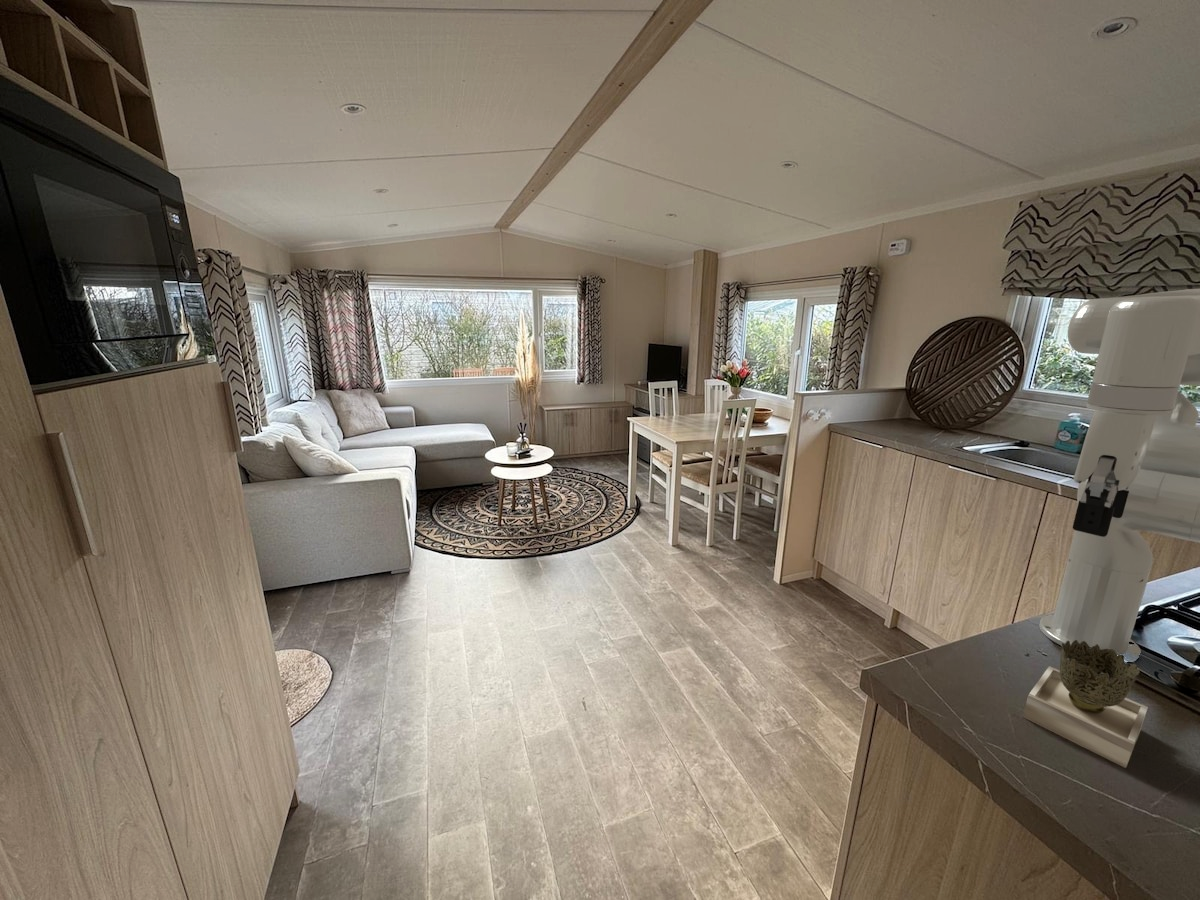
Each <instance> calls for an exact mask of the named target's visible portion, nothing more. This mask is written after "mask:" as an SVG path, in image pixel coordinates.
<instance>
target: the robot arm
mask: <svg viewBox="0 0 1200 900" xmlns="http://www.w3.org/2000/svg"><path fill="white" fill-rule="evenodd" d="M1067 340H1068V343H1069V346H1070V347H1071V348H1072V349H1073V350H1074V351H1076V352H1077V353H1080V354H1088V355H1093V354H1094V355H1095V354H1096V355H1098V356H1097V359H1096V364H1095V368H1094V373H1093V376H1092V380H1091V385H1090V388H1089V392H1088V393H1089V394H1088V397H1087V401H1086V406H1085V407H1086V408H1087V409H1089V410H1095V411H1094V413H1093V415H1092V417H1091V420H1090V422H1089V425H1088V428H1087V431H1086V435H1085V438H1084V441H1083V444H1082V448H1081V451H1080V455H1079V459H1078V462H1077V466H1076V469H1075V472H1074V475H1073V481H1074V482H1075V483H1076V484H1078V485H1077V493H1076V494H1077V499H1076V500H1077V501H1076V502H1077V503H1076V512H1075V516H1074V520H1073V525H1072V529H1073V530H1074V532H1073V538H1072V541H1071V544H1070V545H1071V546H1070V548H1069V549H1070V550H1069V554H1068V558H1067V561H1066V567H1065V571H1064V574H1063V579H1062V582H1061V586H1060V589H1059V594H1058V597H1057V598H1058V599H1057V602H1056V605H1055V610H1054V614H1047V615H1048V616H1047V615H1044V616H1042V617H1041V619H1040V621H1039V629H1040V631H1041V632H1042V633H1043V634H1044V636H1046V638H1048V639H1049V640H1051V641H1053V642H1054V643H1055V644H1057V645H1059V646H1061V645H1062V643H1064V644H1066V642H1067V641H1070V646H1071V644H1072V642H1073V641H1075V640H1077V641H1078V642H1079V644H1080V643H1081V642H1082V641H1085V642H1086V643H1087V644H1088V646H1091V647H1093V645H1095V644H1098V645H1099V647H1100V649H1101V650H1103V649H1109V648H1110V649H1113V650H1114V651H1115V652H1116V654H1117V655H1120V654H1124V653H1125V654H1126V651H1127V652H1128V653H1130V654H1132V655H1134V656H1136V657H1137V654H1138V655H1139V654H1140V653H1141V654H1142V652H1141V651H1142V650H1141V648H1140V646H1139V645H1138V644H1137V643H1136V642H1135V641H1134V640H1133V639H1132V638H1131V637H1132V636H1133V635H1132V634H1133V631H1134V629H1135V625H1136V620H1137V618H1138V614H1139V612H1140V611H1139V610H1140V608H1141V606H1142V605H1141V604H1142V601H1143V598H1144V594H1145V590H1146V589H1147V584H1148V581H1149V577H1150V574H1151V572H1152V568H1153V563H1154V556H1153V552H1152V549H1151V547H1150V546H1149V544H1148V542H1147V541H1146V540H1145V538H1144V537H1143V536H1142V534H1141V533H1140V532H1139V531H1142V532H1146V533H1153V534H1156V535H1157V534H1158V535H1162V536H1167V537H1170V538H1175V539H1180V540H1183V541H1190V542H1195V543H1200V427H1198V426H1196V425H1197V422H1198V420H1199V416H1200V415H1199V411H1198V409H1197V408H1196V406H1195V405H1194V404H1193V402H1191V401H1190V400H1189V398H1187V397H1186V396H1185V395H1184V394H1183V393H1182V392H1180V391H1179V390H1180V386H1192V387H1193V386H1195V387H1196V386H1197V387H1198V386H1199V387H1200V288H1187V289H1179V290H1168V291H1159V292H1158V291H1157V292H1151V293H1150V292H1149V293H1143V294H1135V295H1126V296H1115V297H1114V296H1113V297H1102V298H1100V297H1099V298H1093V299H1092V298H1091V299H1089V300H1087V301H1085V302H1083V303H1082V304H1081V305H1080V306H1079V307H1078V308H1077V309H1076V310H1075V312H1074V313H1073V315H1072V316H1071V319H1070V321H1069V323H1068V327H1067ZM1129 642H1132V643H1134V644H1129ZM1129 645H1132V646H1129ZM1128 646H1129V647H1128ZM1135 653H1136V654H1135ZM1130 657H1132V658H1133V656H1131V655H1130Z"/></svg>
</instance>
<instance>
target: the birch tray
mask: <svg viewBox="0 0 1200 900" xmlns="http://www.w3.org/2000/svg"><path fill="white" fill-rule="evenodd" d="M1068 694H1069V691H1068V690H1067V689H1066V688H1065V686H1064V685H1063V683H1062V680H1061V677H1060V669H1057V668H1055V667H1052V666H1050V665H1048V667H1047V668H1046V670H1045V671H1044V672H1043V674H1042V676H1041V677H1040V678H1039V680H1038V681H1037V682H1036V683H1035V685H1034V687H1033V688H1032V689H1031V691H1030V692H1029V694H1028V695H1027V698H1026V702H1025V707H1024V711H1023V715H1022V718H1023V719H1026V720H1028V721H1030V722H1032V723H1034V724H1036V725H1038V726H1040V727H1042V728H1044V729H1046V730H1048V731H1050V732H1053V733H1054V734H1056V735H1058V736H1060V737H1062V738H1064V739H1067V740H1068V741H1070V742H1072V743H1074V744H1075V745H1078V746H1080V747H1082V748H1084V749H1086V750H1088V751H1090V752H1092V753H1094V754H1095V755H1098V756H1100V757H1102V758H1104V759H1107V760H1108V761H1110V762H1113V764H1117V765H1118V766H1120V767H1122V768H1124V769H1127V768H1128V764H1129V761H1130V759H1131V756H1132V754H1133V752H1134V749H1135V746H1136V744H1137V741H1138V738H1139V736H1140V732H1141V731H1142V727H1143V724H1144V721H1145V718H1146V716H1147V711H1148V710H1149V709H1148V708H1149V706H1146V705H1144V704H1142V703H1138V702H1137V701H1135V700H1132V699H1130V698H1128V697H1125V699H1124V700H1123V701H1122V702H1121V703H1119V704H1117V705H1115V706H1110V707H1106V709H1105V710H1104V711H1103V712H1102V713H1090V712H1087V711H1084V710H1082V709H1080V708H1078V707H1077V706H1075V705H1074V704H1073V703H1072V702H1071V701H1070V699H1069V695H1068Z"/></svg>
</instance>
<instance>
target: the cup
mask: <svg viewBox="0 0 1200 900" xmlns="http://www.w3.org/2000/svg"><path fill="white" fill-rule="evenodd" d="M1060 646H1061V651H1060V661H1059V670H1060V677H1061V680H1062V683H1063V685H1064V686H1065V688H1066V689H1067V690H1068V691H1069V694H1068V695H1069V699H1070V701H1071V702H1072V703H1073V704H1074V705H1075V706H1077V707H1078V708H1080V709H1082V710H1084V711H1087V712H1090V713H1102V712H1103V711H1104V710H1105V709H1106V707H1110V706H1115V705H1117V704H1119V703H1121V702H1122V701H1123V700H1124V699H1125V698H1127V696H1128V694H1129V693H1130V691H1131V689H1132V687H1133V685H1134V683H1135V682H1136V680H1137V678H1138V677H1139V675H1140V672H1141V669H1139V668H1138V666H1137V664H1136V663H1131V664H1130V665H1129V663H1126V664H1125V663H1124V656H1123V655H1118V656H1117V654H1116V652H1115V651H1114V650H1113V649H1110V648H1109V649H1103V650H1101V649H1100V647H1099V645H1098V644H1095V645H1093V647H1092V648H1091V649H1090V648H1089V646H1088V644H1087V643H1086V642H1085V641H1082V642H1081V643H1080V644H1079V642H1078V641H1077V640H1075V641H1073V642H1072V644H1071V646H1070V641H1067V642H1066V644H1064V643H1062V645H1060Z"/></svg>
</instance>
